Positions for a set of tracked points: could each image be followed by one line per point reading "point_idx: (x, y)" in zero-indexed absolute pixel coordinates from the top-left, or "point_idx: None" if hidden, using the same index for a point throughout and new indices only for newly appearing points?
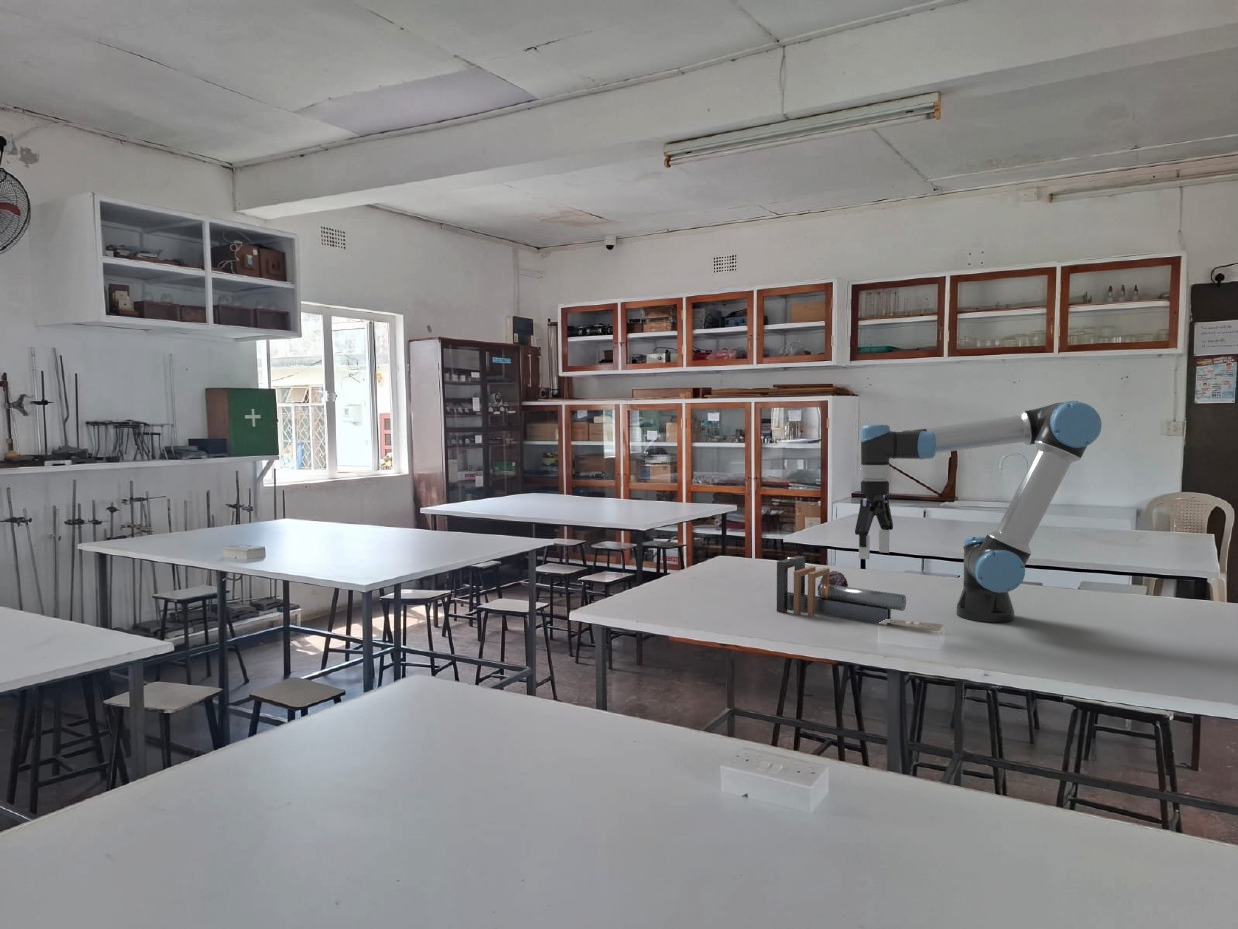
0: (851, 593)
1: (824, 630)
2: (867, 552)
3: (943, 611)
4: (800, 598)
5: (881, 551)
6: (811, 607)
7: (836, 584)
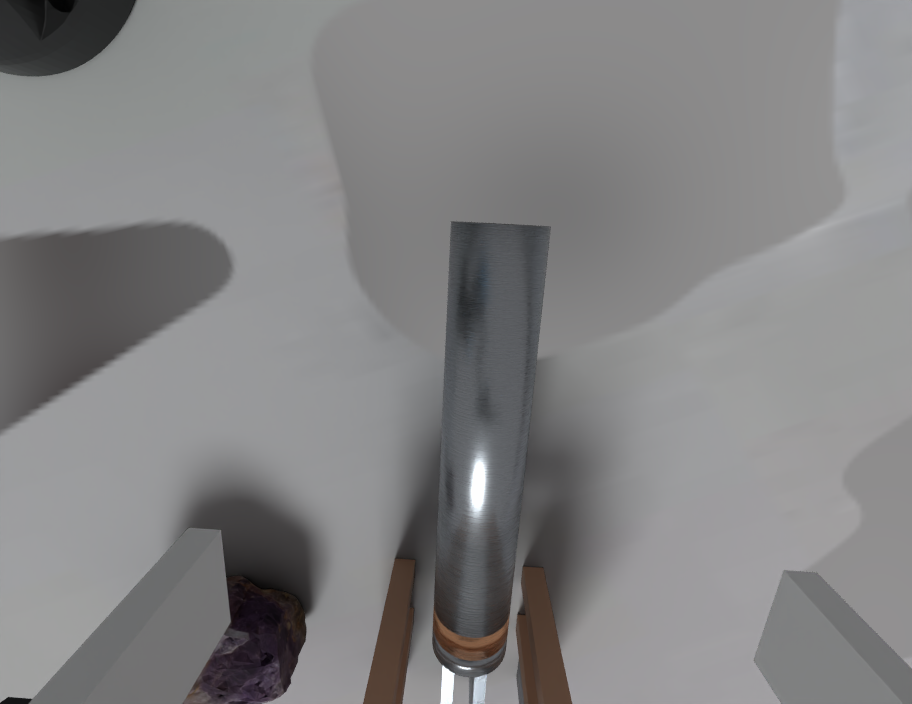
0: (517, 511)
1: (727, 465)
2: (890, 659)
3: (66, 150)
4: (525, 671)
5: (222, 606)
6: (549, 600)
7: (238, 643)
